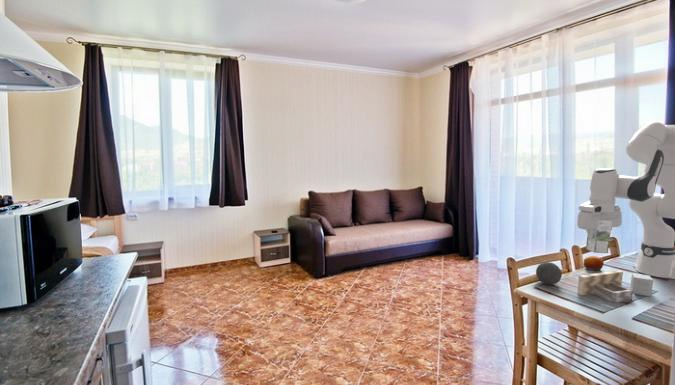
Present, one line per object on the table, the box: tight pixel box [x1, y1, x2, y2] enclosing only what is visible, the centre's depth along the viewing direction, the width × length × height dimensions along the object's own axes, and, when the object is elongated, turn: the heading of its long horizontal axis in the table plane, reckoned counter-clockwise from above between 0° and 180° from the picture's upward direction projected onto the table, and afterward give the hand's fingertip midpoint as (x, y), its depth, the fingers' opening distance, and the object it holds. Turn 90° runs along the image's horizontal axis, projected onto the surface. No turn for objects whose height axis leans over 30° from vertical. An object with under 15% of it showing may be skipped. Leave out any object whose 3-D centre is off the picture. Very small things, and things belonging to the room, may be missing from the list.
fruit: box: [583, 255, 604, 272], centre depth 173 cm, size 8×8×8 cm
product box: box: [629, 272, 654, 297], centre depth 146 cm, size 6×6×7 cm
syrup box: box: [585, 219, 612, 254], centre depth 147 cm, size 6×6×14 cm
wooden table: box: [577, 269, 633, 304], centre depth 143 cm, size 22×11×8 cm, turn 105°
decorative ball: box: [535, 261, 562, 286], centre depth 156 cm, size 10×10×10 cm
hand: (598, 237), depth 147 cm, fingers closed on syrup box, 7 cm apart
